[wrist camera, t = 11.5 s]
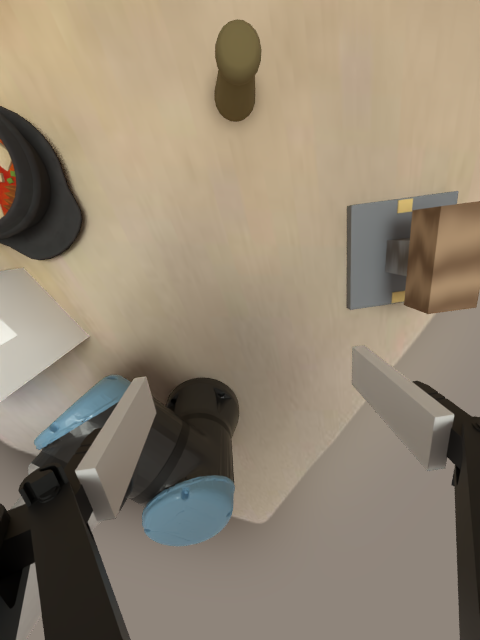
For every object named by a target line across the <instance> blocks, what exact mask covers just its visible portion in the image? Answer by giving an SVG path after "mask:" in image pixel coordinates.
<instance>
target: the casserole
mask: <svg viewBox="0 0 480 640" xmlns="http://www.w3.org/2000/svg"><path fill="white" fill-rule="evenodd" d="M81 223H82V217H81V210H80V208H79V206H78V204H77V202H76V200H75V198H74V197H73V195H72V193H71V191H70V189H69V188H68V185H67V182H66V179H65V176H64V173H63V170H62V168H61V165H60V162H59V160H58V158H57V156H56V154H55V152H54V150H53V149H52V147H51V145H50V144H49V143H48V142H47V140H46V139H45V138H44V136H43V135H42V134H41V133H40V132H39V131H38V130H37V129H36V128H35V127H34V126H33V125H32V124H31V123H30V122H28V121H27V120H25V119H24V118H22V117H21V116H20V115H18V114H17V113H15V112H12V111H10V110H8V109H6V108H4V107H2V106H0V243H1V244H4V245H7V246H9V247H11V248H13V249H15V250H16V251H18V252H20V253H22V254H24V255H25V256H27V257H29V258H31V259H37V260H45V259H51V258H53V257H55V256H57V255H60V254H61V253H62V252H64V251H65V250H66V249H68V248H69V247H70V246H71V244H72V243H73V242H74V241H75V239H76V237H77V235H78V233H79V231H80V228H81Z"/></svg>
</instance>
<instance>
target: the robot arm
mask: <svg viewBox="0 0 480 640" xmlns="http://www.w3.org/2000/svg"><path fill="white" fill-rule="evenodd" d="M352 385H353V386H354V387H355V388H356V390H357V391H358V392H359V393H360V394H361V395H362V396H363V398H364V399H365V400H366V401H367V402H368V403H369V405H371V407H372V408H373V409H374V410H375V411H376V413H377V414H378V415H379V416H380V417H381V418H382V419H383V421H384V422H385V423H386V424H387V425H388V426H389V427H390V429H391V430H392V431H393V432H394V433H395V434H396V436H397V437H398V438H399V439H400V440H401V441H402V442H403V444H404V445H405V446H406V447H407V448H408V449H409V450H410V452H411V453H412V454H413V455H414V456H415V457H416V459H417V460H418V461H419V462H420V463H421V464H422V465H423V466H424V468H425V469H426V470H427V471H431V470H438V469H444V468H445V466H446V461H447V457H448V458H449V459H450V460H451V461H452V462H453V463H454V464H455V469H454V474H453V480H452V485H453V486H455V509H456V510H455V513H456V542H457V568H458V569H457V571H458V596H459V597H458V599H459V628H460V640H480V417H472V416H470V415H469V414H467V413H466V412H465V411H463V410H462V409H460V408H459V407H458V406H456V405H455V404H454V403H452V402H451V401H449V400H448V399H445V397H444V396H442V395H441V394H438V392H437V391H436V390H434V389H433V388H431V387H430V386H428V385H426V384H424V383H421V382H419V381H413V382H412V381H410V380H409V379H407V378H406V377H405V376H404V375H402V374H401V373H400V372H399V371H397V370H396V369H395V368H393V367H392V366H391V365H389V364H388V363H387V362H386V361H384V360H383V359H382V358H380V357H379V356H378V355H376V354H375V353H374V352H373V351H371V350H370V349H369V348H367V347H366V346H365V345H361V346H355V347H352ZM238 419H239V406H238V401H237V398H236V396H235V394H234V393H233V391H232V390H231V389H230V388H229V387H228V386H226V385H225V384H223V383H222V382H219V381H217V380H214V379H209V378H196V379H192V380H188V381H186V382H184V383H182V384H180V385H179V386H178V387H176V388H175V389H174V391H173V392H172V393H171V395H170V397H169V399H168V402H167V405H166V406H165V405H163V404H162V403H160V402H159V401H158V400H156V399H155V398H153V397H152V395H151V391H150V388H149V384H148V381H147V377H146V376H145V377H138V378H134V379H133V381H132V382H130V381H128V380H127V379H125V378H124V377H122V376H120V375H109V376H106V377H105V378H103V379H102V380H101V381H99V382H98V383H97V384H96V385H95V386H93V387H92V388H91V389H90V390H89V391H88V392H87V393H85V394H84V395H83V396H82V397H81V398H80V399H79V400H77V401H76V402H75V403H74V404H73V405H72V406H71V407H70V408H68V409H67V410H66V411H65V412H64V413H63V414H62V415H61V416H60V417H59V418H57V419H56V420H55V421H54V422H53V423H52V424H51V425H50V426H49V427H48V428H47V429H45V430H44V431H43V432H42V433H41V434H40V435H39V436H38V437H37V438H36V439H35V440H34V444H35V445H36V449H38V450H40V449H42V451H41V452H40V453H39V455H38V456H37V457H36V458H35V459H34V460H33V462H32V463H31V464H30V465H29V466H28V476H27V477H26V478H25V479H24V480H23V482H22V483H21V485H20V487H19V492H20V494H21V497H20V498H19V499H18V501H17V502H16V503H15V504H14V506H13V507H12V508H11V509H10V510H8V511H7V510H6V509H5V507H4V506H3V505H2V504H0V640H27V638H28V637H29V635H30V633H31V632H32V630H33V628H34V627H35V625H36V623H37V622H38V620H39V618H40V617H41V615H42V619H43V628H44V635H45V640H131V639H130V637H129V634H128V631H127V629H126V626H125V623H124V620H123V617H122V614H121V612H120V609H119V606H118V603H117V601H116V598H115V595H114V592H113V590H112V587H111V584H110V582H109V579H108V576H107V573H106V570H105V567H104V565H103V562H102V559H101V556H100V554H99V551H98V548H97V545H96V543H95V540H94V537H93V534H92V531H93V530H94V528H95V527H96V526H97V525H98V524H99V523H100V522H102V521H104V520H110V519H116V516H117V514H118V513H119V512H120V510H121V508H122V507H123V505H124V503H125V501H126V500H127V498H129V499H131V500H133V501H135V502H137V503H138V504H140V505H142V506H143V507H144V510H143V513H142V520H143V521H142V522H143V523H142V525H143V527H144V531H145V533H146V535H147V536H148V537H149V538H151V539H152V540H153V541H155V542H158V543H160V544H164V545H169V546H187V545H191V544H197V543H200V542H203V541H205V540H207V539H210V538H211V537H213V536H215V535H216V534H217V533H219V532H220V531H221V530H222V529H223V528H224V527H225V526H226V524H227V523H228V521H229V520H230V518H231V515H232V511H233V495H234V490H235V486H234V474H233V457H232V440H231V438H232V436H233V433H234V431H235V428H236V426H237V423H238Z"/></svg>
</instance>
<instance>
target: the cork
mask: <svg viewBox="0 0 480 640" xmlns="http://www.w3.org/2000/svg"><path fill="white" fill-rule="evenodd" d="M215 58H216V62H217V67H218V69H219V70H218V76H217V81H216V87H215V103H216V107H217V109H218V110H219V112H220V114H221V115H222V116H223V117H224V118H226V119H228V120H230V121H241V120H243V119H245V118H246V117H247V116H249V114H250V113H251V111H252V110H253V107H254V104H255V74H256V73H257V71H258V68H259V65H260V61H261V45H260V40H259V37H258V35H257V32H256V30H255V29H254V28H253V27H252V26H251V25H250V24H249V23H247V22H245V21H244V20H234V21H230V22H228V23H227V24H226V25H225V26H223V28H222V30H221V31H220V33H219V35H218V38H217V42H216V45H215Z"/></svg>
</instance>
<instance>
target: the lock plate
mask: <svg viewBox="0 0 480 640" xmlns="http://www.w3.org/2000/svg"><path fill="white" fill-rule="evenodd" d="M457 198H458V191H454V192H447V193H440V194H432V195H425V196H417V197H410V198H402V199H395V200H388V201H380V202H373V203H365V204H358V205H351V206H347V308H348V309H350V310H352V309H359V308H366V307H373V306H380V305H387V304H394V303H402V302H404V299H405V288H406V277H407V276H402V275H398V274H393V273H388V272H385V265H386V249H387V240H395V239H403V238H410V233H411V222H412V210H418V209H425V208H432V207H439V206H447V205H455V204H457Z"/></svg>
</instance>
